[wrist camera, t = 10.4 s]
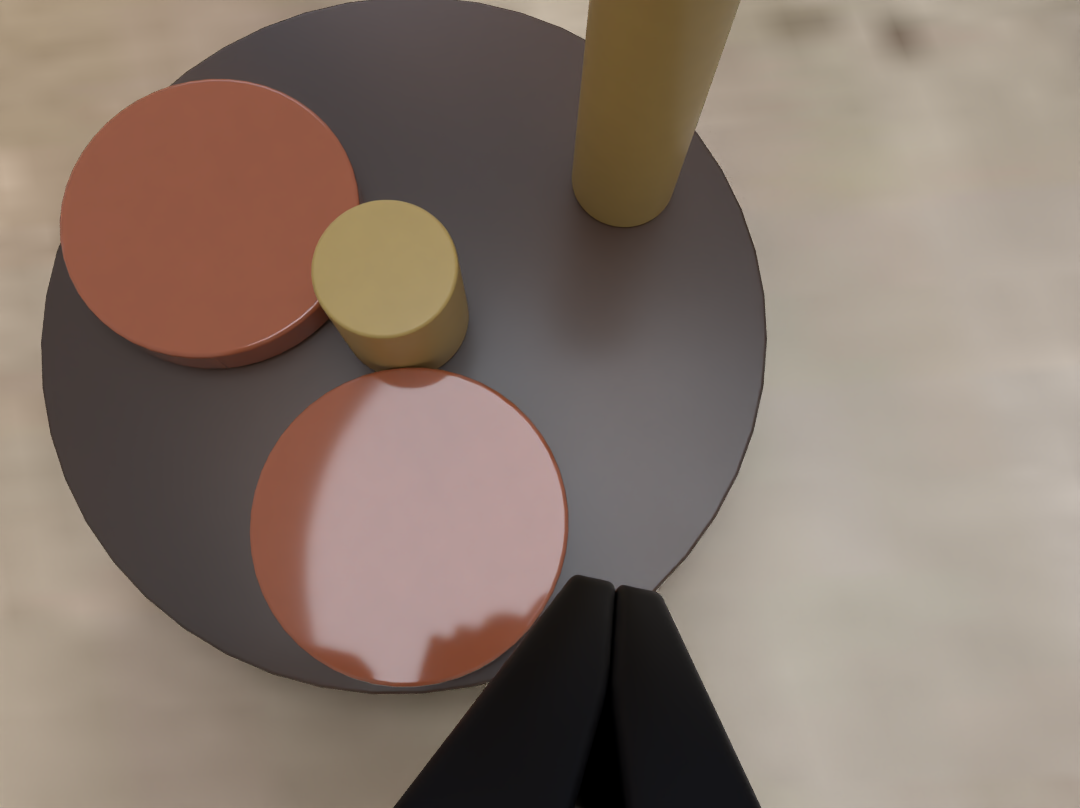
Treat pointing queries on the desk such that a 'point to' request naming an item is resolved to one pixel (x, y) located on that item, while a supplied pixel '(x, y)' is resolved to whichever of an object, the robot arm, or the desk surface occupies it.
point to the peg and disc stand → (406, 331)
